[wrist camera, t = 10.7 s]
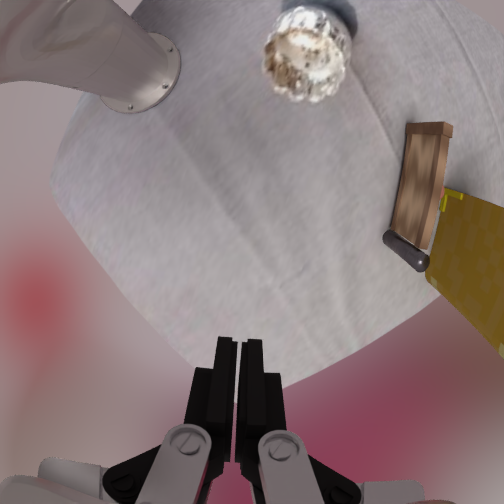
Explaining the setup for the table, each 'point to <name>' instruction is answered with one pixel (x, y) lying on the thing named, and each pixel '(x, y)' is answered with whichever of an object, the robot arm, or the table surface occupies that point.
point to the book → (471, 262)
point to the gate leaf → (421, 181)
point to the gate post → (406, 251)
